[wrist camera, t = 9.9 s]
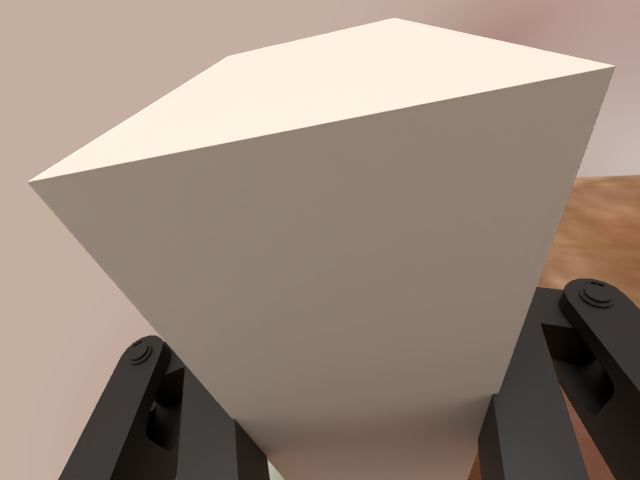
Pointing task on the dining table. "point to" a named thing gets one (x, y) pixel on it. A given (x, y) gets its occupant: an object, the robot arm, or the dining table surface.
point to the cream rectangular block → (343, 233)
